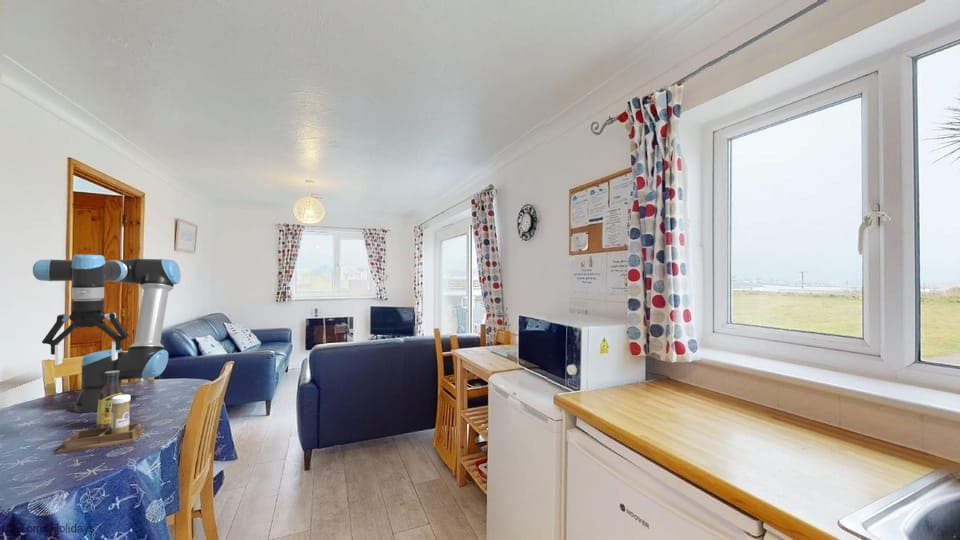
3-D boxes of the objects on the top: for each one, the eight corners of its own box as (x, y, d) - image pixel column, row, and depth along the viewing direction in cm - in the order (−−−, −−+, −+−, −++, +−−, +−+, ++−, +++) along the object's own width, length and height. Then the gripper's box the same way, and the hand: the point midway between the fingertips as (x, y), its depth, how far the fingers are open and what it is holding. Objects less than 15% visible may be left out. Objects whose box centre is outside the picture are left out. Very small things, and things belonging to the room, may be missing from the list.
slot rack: (76, 438, 121) (77, 429, 121) (146, 428, 130) (146, 420, 130) (55, 454, 111) (56, 444, 111) (133, 442, 119) (133, 433, 119)
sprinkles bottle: (123, 438, 120) (124, 397, 121) (106, 439, 119) (107, 398, 120) (132, 432, 125) (134, 393, 125) (117, 433, 124) (118, 394, 124)
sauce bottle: (104, 430, 128) (106, 374, 128) (91, 428, 129) (93, 373, 130) (126, 423, 134) (127, 370, 135) (113, 421, 136) (114, 369, 136)
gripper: (27, 301, 113) (26, 368, 113) (133, 299, 125) (132, 360, 125) (40, 299, 119) (39, 363, 119) (140, 297, 132) (139, 355, 132)
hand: (87, 361), depth 122 cm, fingers open, 13 cm apart
